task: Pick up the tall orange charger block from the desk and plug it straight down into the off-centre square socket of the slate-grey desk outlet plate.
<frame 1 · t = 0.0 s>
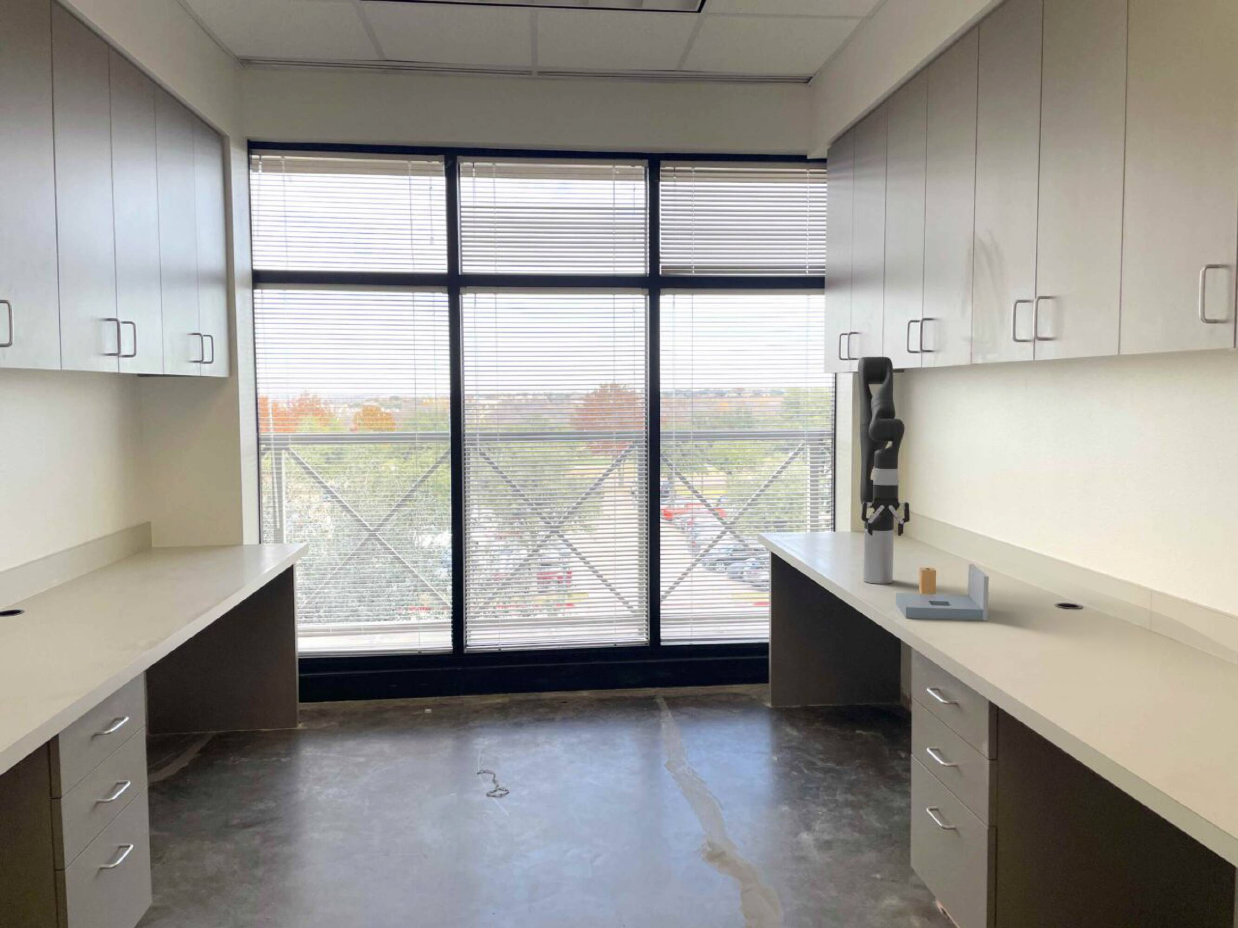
hand: (885, 535, 284), 17 cm above the table, tool pointing down, fingers open, 8 cm apart
outlet plate: (937, 611, 256), on the table
charger: (927, 598, 272), on the table
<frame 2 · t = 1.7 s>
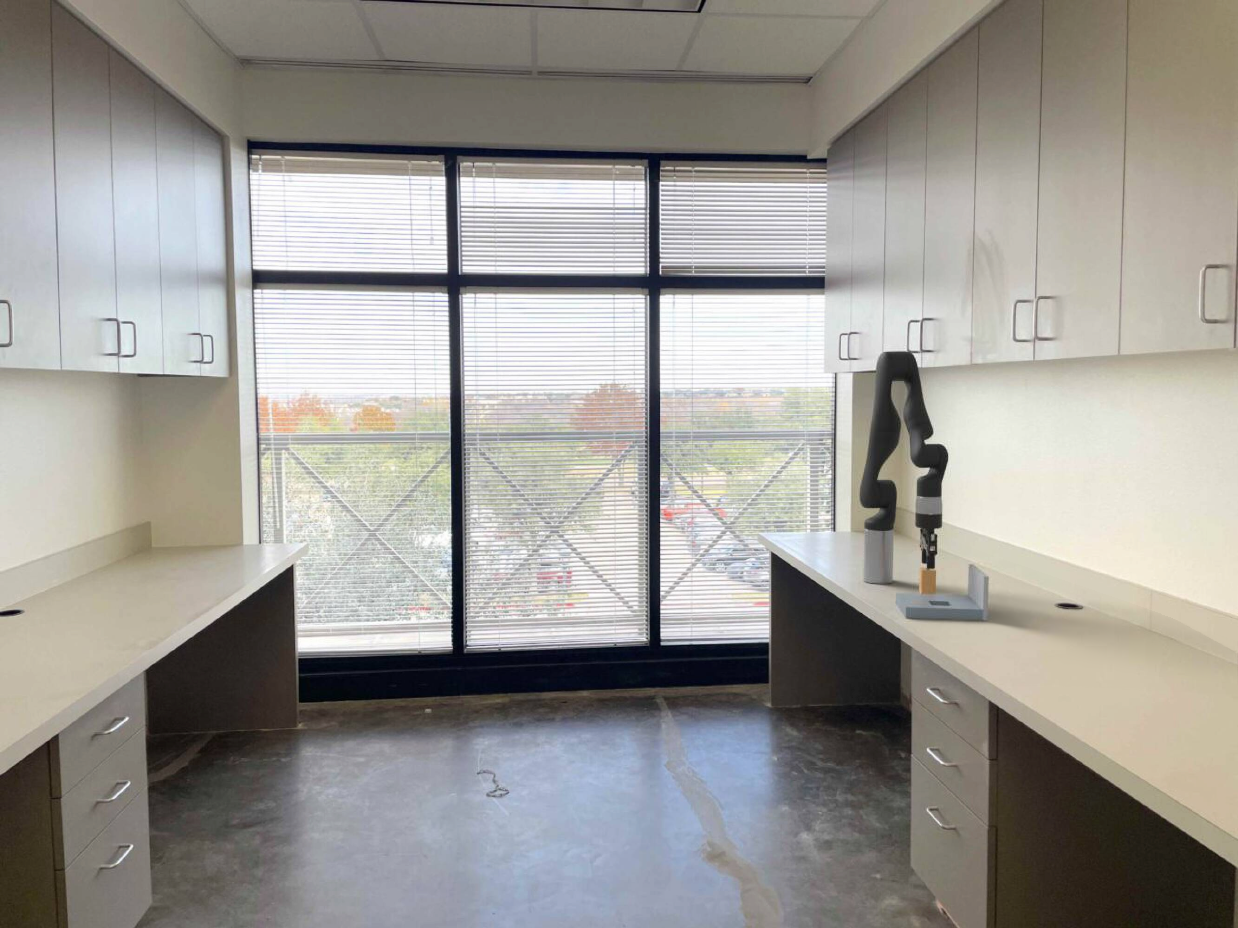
hand: (928, 566, 271), 10 cm above the table, tool pointing down, fingers open, 8 cm apart
nothing on the table moved.
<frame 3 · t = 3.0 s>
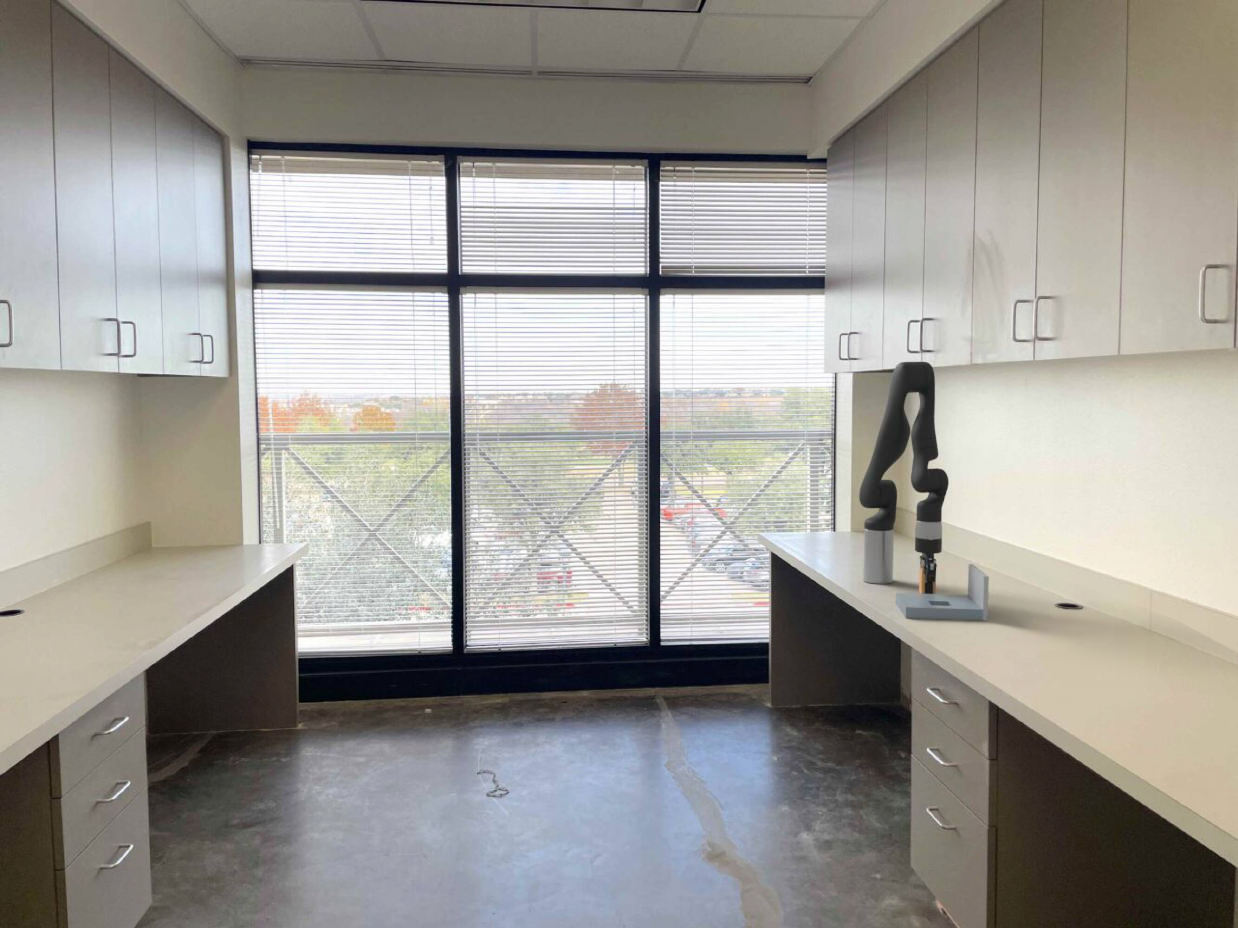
hand: (927, 592, 272), 2 cm above the table, tool pointing down, fingers closed on charger, 4 cm apart
charger: (927, 598, 272), on the table, touching gripper
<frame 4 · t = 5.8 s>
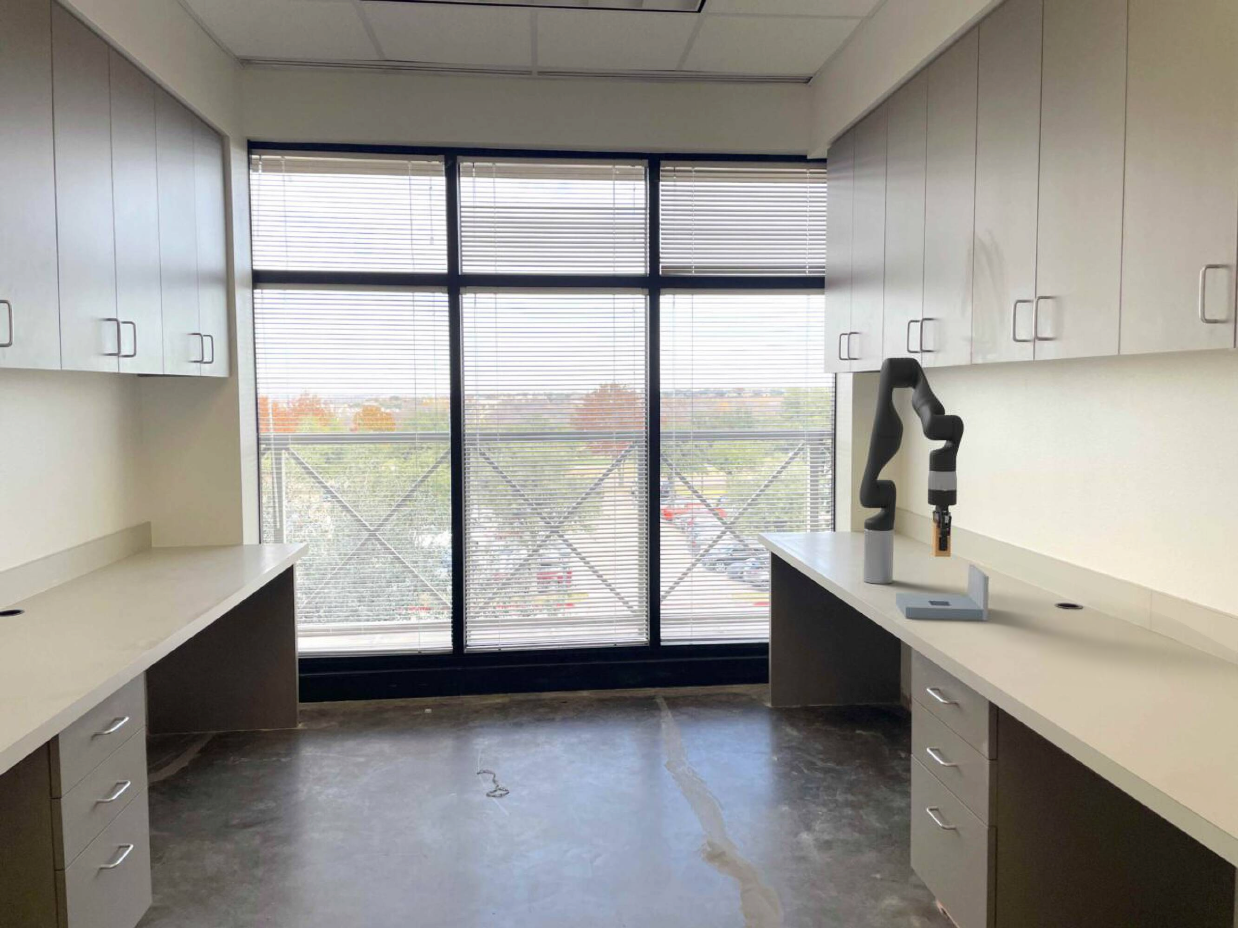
hand: (941, 549, 253), 18 cm above the table, tool pointing down, fingers closed on charger, 4 cm apart
charger: (941, 555, 253), point 16 cm above the table, touching gripper
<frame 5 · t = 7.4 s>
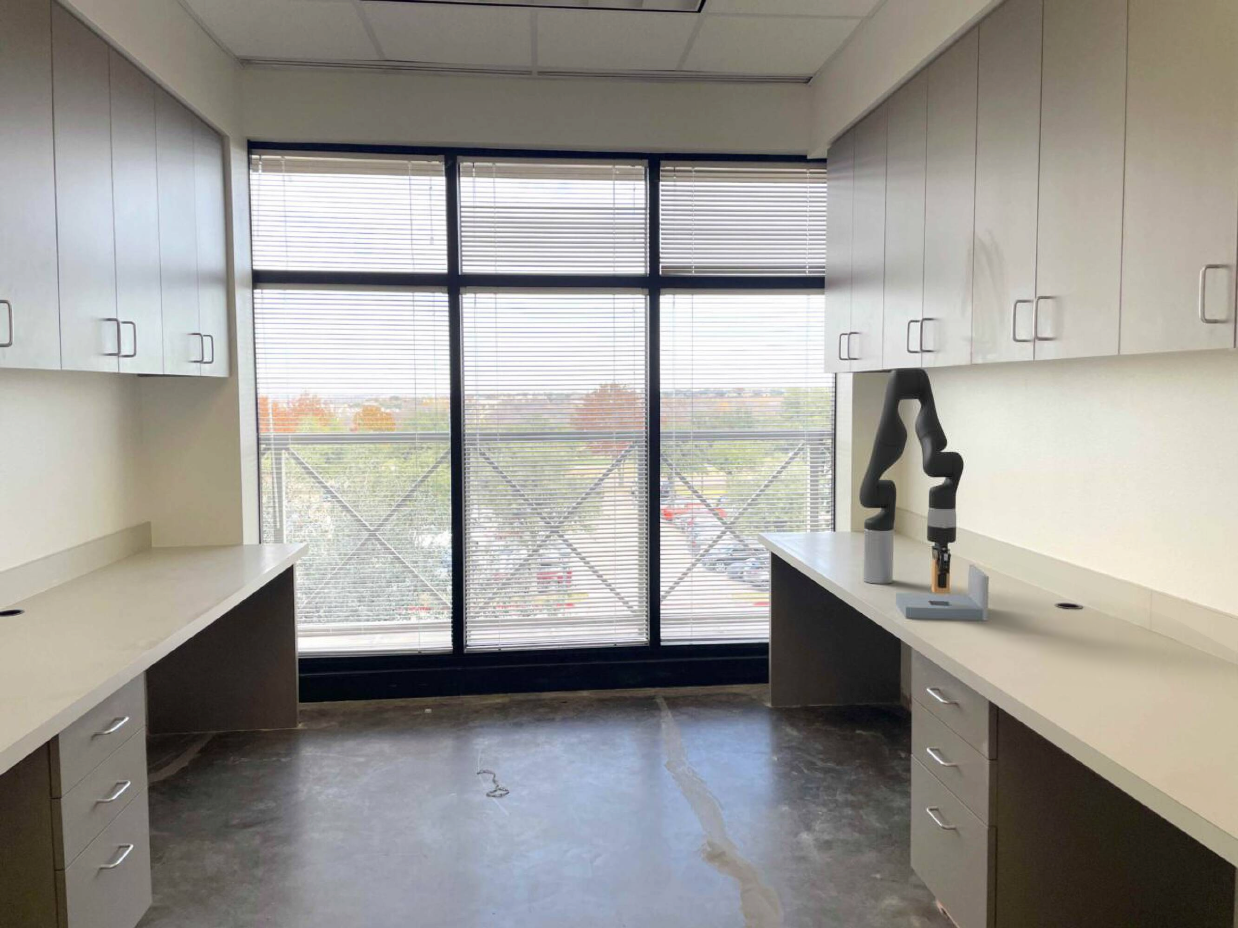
hand: (940, 585, 252), 8 cm above the table, tool pointing down, fingers closed on charger, 4 cm apart
charger: (940, 591, 253), point 6 cm above the table, touching gripper
when the fingers open (5 cm above the table, at t = 8.5 s): charger drops 3 cm, resting in outlet plate.
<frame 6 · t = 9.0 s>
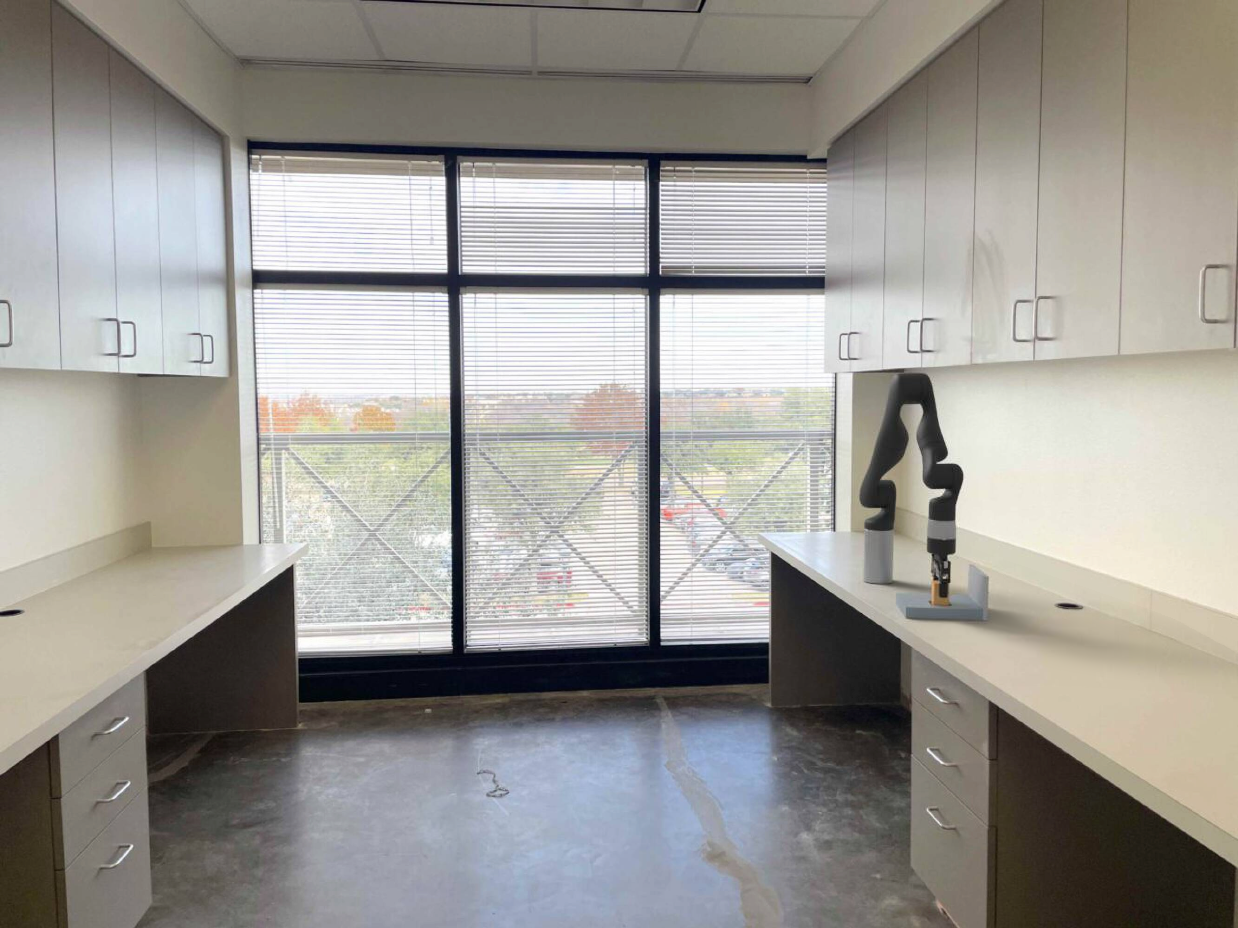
hand: (940, 594, 253), 6 cm above the table, tool pointing down, fingers open, 8 cm apart
charger: (939, 614, 253), resting in outlet plate
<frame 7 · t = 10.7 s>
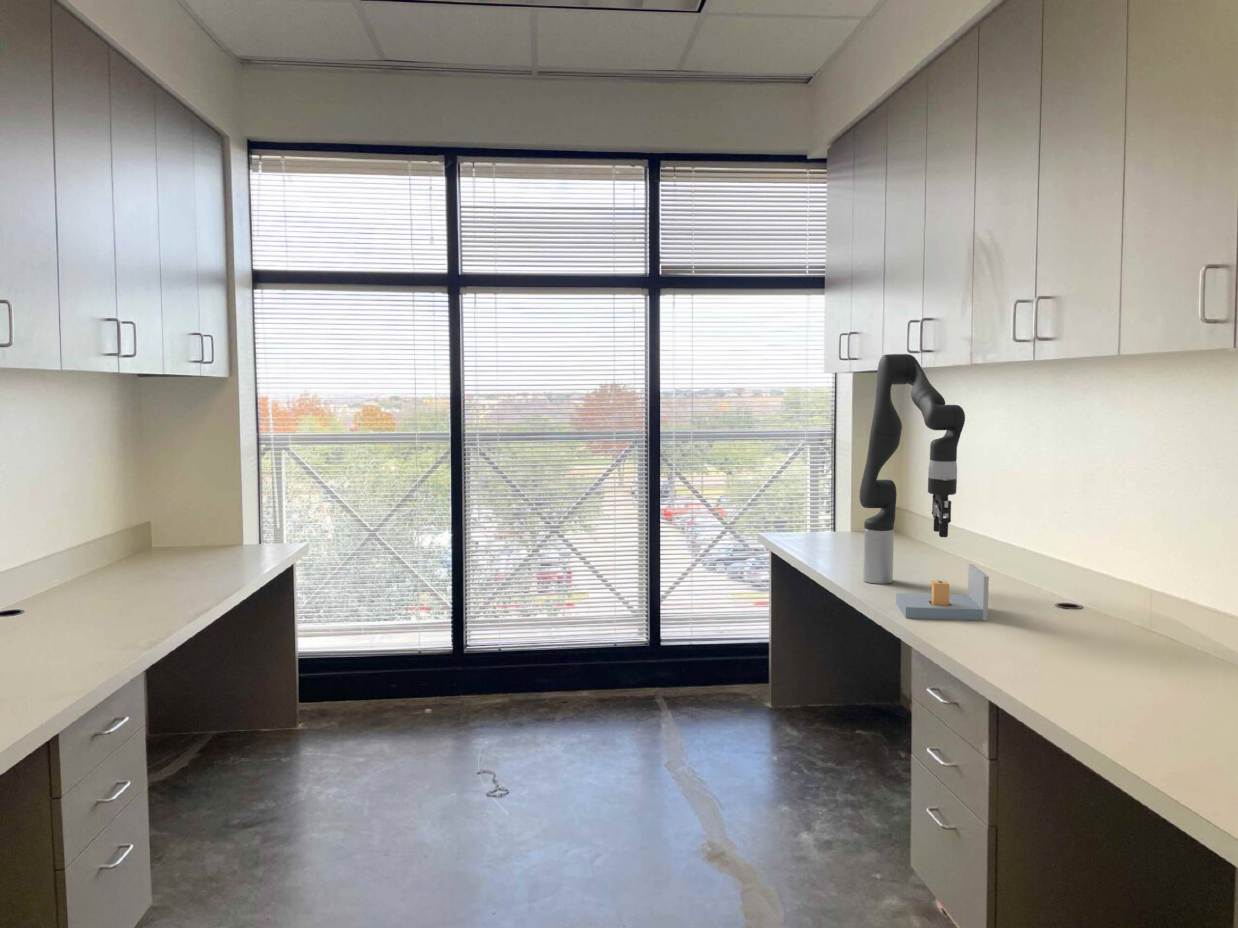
hand: (940, 534, 256), 22 cm above the table, tool pointing down, fingers open, 8 cm apart
nothing on the table moved.
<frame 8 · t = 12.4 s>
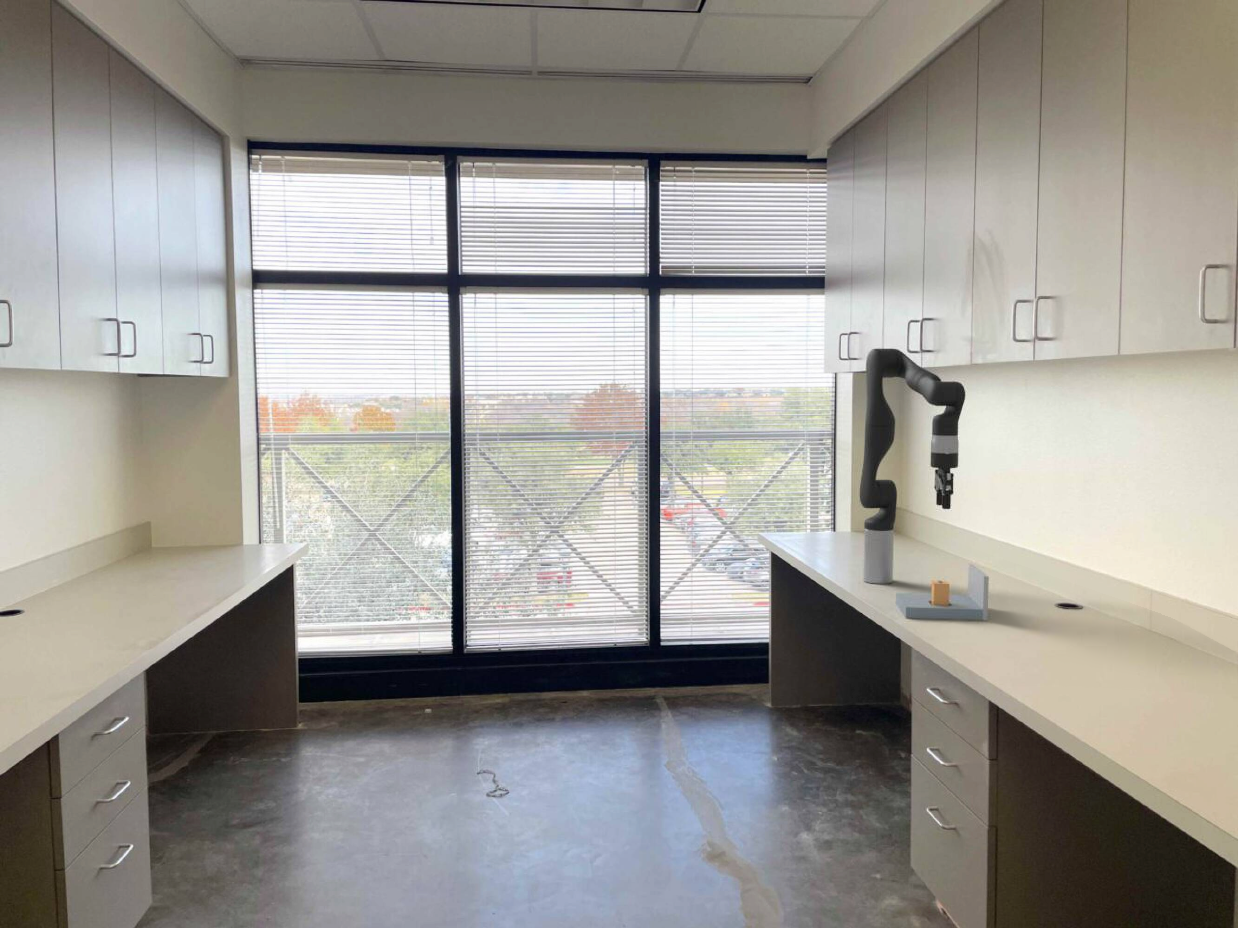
hand: (943, 507, 264), 28 cm above the table, tool pointing down, fingers open, 8 cm apart
nothing on the table moved.
at the end: charger 0.1 cm from the target spot on the outlet plate, point 0.0 cm above the outlet plate's base; charger tilted 0°; the gripper is holding nothing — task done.
